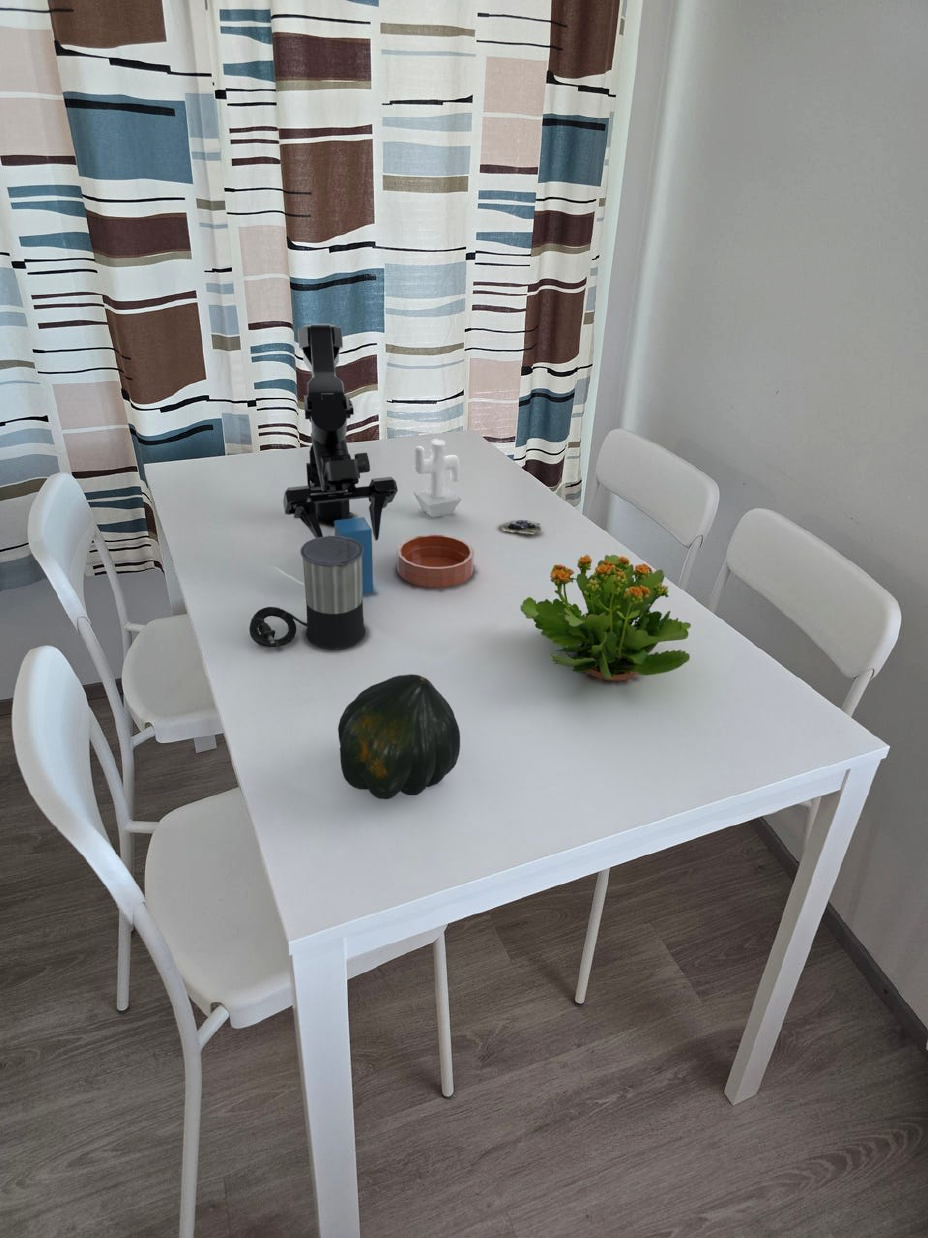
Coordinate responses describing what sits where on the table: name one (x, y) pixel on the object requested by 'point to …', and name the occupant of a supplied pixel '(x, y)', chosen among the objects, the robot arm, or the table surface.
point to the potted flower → (610, 620)
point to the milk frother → (323, 597)
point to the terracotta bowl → (435, 561)
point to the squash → (398, 737)
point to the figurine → (437, 479)
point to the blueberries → (522, 527)
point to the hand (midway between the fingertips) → (350, 542)
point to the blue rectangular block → (363, 535)
